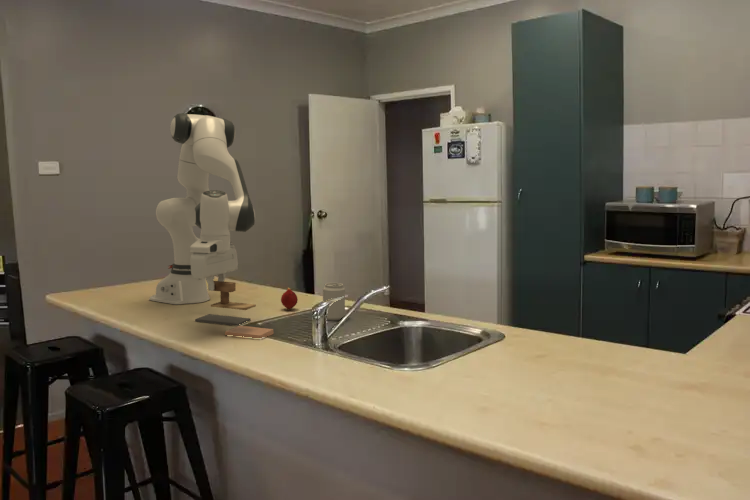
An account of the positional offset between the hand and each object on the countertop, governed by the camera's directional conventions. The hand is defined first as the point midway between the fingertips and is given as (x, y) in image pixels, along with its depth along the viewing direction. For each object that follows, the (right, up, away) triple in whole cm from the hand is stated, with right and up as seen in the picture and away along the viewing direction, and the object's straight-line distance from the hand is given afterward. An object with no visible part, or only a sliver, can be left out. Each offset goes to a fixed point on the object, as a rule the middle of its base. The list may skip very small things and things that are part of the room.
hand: (216, 288), depth 198 cm
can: (+35, -12, +21) cm, 42 cm away
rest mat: (-1, -12, +15) cm, 19 cm away
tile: (+5, -13, 0) cm, 14 cm away
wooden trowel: (+5, -5, -1) cm, 7 cm away
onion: (+18, -10, +33) cm, 39 cm away
